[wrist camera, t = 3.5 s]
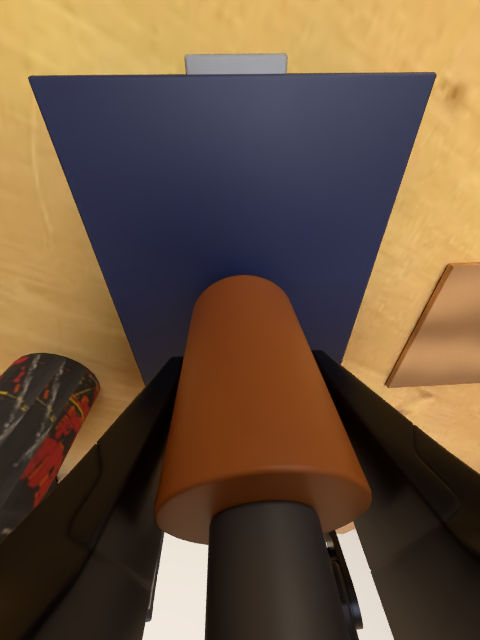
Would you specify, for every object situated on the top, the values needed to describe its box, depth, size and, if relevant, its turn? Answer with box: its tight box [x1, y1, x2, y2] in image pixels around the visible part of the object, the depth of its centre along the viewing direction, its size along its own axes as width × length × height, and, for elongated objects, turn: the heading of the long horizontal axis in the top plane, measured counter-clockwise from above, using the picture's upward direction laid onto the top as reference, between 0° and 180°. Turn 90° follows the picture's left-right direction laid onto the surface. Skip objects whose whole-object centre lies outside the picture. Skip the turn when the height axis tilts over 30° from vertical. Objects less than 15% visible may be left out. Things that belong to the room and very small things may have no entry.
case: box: [28, 53, 436, 386], centre depth 13 cm, size 17×12×3 cm
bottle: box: [154, 275, 372, 640], centre depth 7 cm, size 4×4×9 cm
